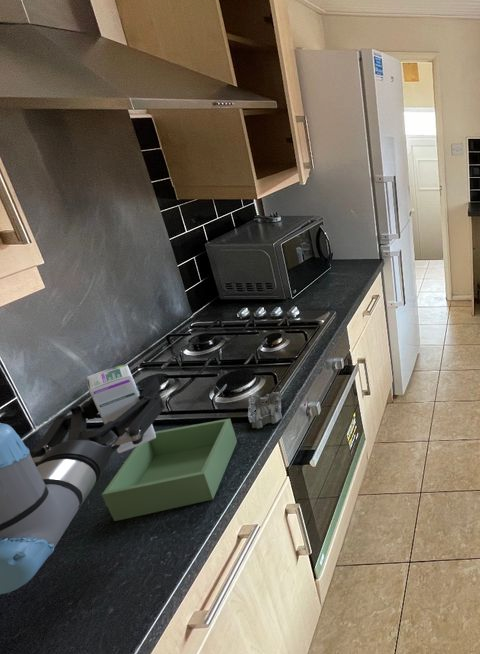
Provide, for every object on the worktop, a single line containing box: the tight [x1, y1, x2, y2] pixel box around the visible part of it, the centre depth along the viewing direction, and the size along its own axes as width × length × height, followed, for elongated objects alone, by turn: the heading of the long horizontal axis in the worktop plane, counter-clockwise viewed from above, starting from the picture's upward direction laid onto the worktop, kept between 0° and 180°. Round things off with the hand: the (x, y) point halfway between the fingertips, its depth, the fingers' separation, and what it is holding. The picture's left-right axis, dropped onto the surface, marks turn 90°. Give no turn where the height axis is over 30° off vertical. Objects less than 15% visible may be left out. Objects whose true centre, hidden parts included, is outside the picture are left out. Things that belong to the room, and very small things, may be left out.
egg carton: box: [247, 391, 283, 429], centre depth 108 cm, size 11×8×4 cm
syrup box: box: [86, 363, 156, 454], centre depth 77 cm, size 6×6×14 cm
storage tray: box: [101, 418, 238, 522], centre depth 89 cm, size 17×17×7 cm
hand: (131, 387), depth 81 cm, fingers closed on syrup box, 7 cm apart
